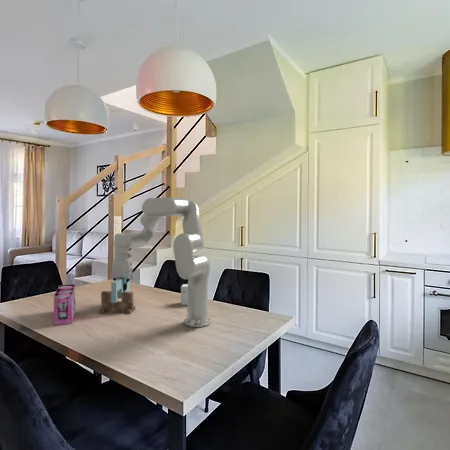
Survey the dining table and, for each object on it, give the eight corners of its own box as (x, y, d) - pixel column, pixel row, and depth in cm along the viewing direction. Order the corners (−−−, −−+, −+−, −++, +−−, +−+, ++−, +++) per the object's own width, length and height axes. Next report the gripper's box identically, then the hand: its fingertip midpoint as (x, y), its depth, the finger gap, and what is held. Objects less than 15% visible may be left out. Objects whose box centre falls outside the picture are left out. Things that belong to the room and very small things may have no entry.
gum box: (72, 324, 148) (72, 295, 147) (52, 326, 145) (52, 296, 144) (75, 309, 170) (75, 283, 169) (58, 311, 167) (58, 285, 166)
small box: (196, 302, 184) (197, 284, 183) (195, 305, 178) (195, 286, 178) (183, 302, 185) (183, 283, 184) (180, 305, 179) (180, 286, 179)
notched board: (116, 302, 162) (116, 282, 162) (111, 302, 162) (111, 282, 162) (129, 292, 184) (129, 274, 184) (125, 291, 184) (125, 274, 184)
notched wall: (135, 309, 171) (135, 290, 171) (130, 313, 163) (130, 294, 163) (105, 308, 172) (105, 289, 171) (99, 313, 164) (98, 293, 163)
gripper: (138, 255, 177) (138, 289, 178) (109, 255, 177) (109, 288, 178) (134, 257, 169) (134, 292, 170) (104, 257, 169) (104, 292, 170)
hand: (121, 290), depth 174 cm, fingers closed on notched board, 2 cm apart
